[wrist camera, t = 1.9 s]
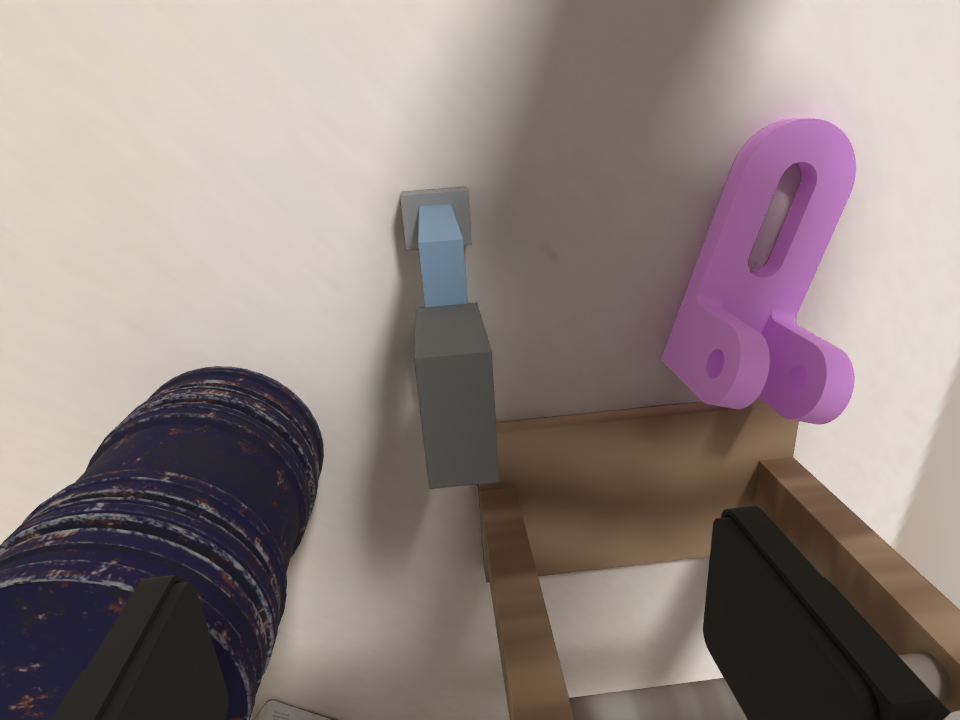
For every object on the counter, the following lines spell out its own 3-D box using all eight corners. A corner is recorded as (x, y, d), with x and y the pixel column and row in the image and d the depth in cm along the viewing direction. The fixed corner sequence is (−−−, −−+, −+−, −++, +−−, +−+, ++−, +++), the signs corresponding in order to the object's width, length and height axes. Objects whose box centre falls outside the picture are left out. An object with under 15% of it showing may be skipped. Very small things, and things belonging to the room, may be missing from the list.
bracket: (750, 376, 33) (829, 438, 27) (659, 358, 32) (718, 418, 26) (856, 134, 28) (981, 139, 22) (753, 105, 28) (853, 101, 21)
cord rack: (473, 424, 32) (516, 681, 18) (789, 392, 33) (1078, 609, 19) (484, 568, 36) (527, 877, 21) (767, 535, 37) (993, 808, 23)
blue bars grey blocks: (401, 191, 27) (381, 260, 14) (465, 186, 28) (505, 250, 14) (421, 372, 31) (420, 563, 18) (478, 367, 31) (520, 552, 18)
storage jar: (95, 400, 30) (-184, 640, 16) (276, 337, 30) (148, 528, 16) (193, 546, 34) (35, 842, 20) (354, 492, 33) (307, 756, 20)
